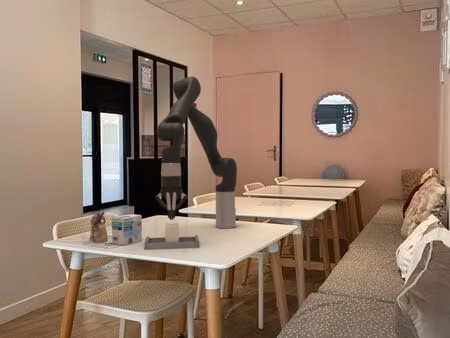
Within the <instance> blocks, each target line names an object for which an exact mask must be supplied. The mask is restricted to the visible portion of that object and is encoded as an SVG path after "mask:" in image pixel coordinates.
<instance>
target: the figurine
mask: <svg viewBox="0 0 450 338" xmlns="http://www.w3.org/2000/svg"><path fill="white" fill-rule="evenodd" d="M105 214H106V212H104V211H101V213H100V212H99V211H98V212H95V213H94V214H93V215H92V217H91V220H90V221H89V222H90V226H91V229H90V236H89V241H90V242H94V243H93V244H100V243H99V242H103V243H106V242H107V241H108V231H107V227H106V225H105V224H106V217H104V215H105ZM102 220H103V222H102ZM105 241H106V242H105ZM90 242H89V243H90Z"/></svg>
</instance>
